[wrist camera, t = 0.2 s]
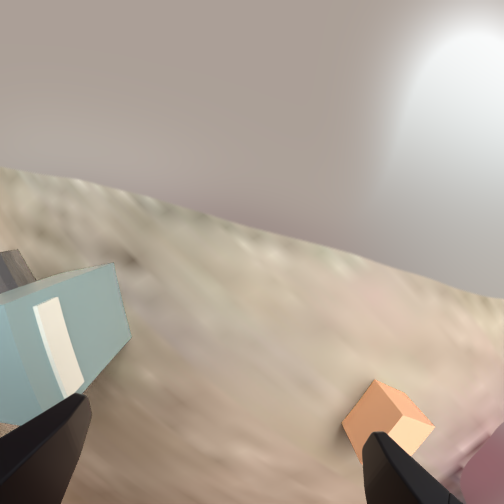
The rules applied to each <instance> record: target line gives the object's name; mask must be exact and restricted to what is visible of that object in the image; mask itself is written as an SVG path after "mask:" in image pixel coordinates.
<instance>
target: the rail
mask: <svg viewBox="0 0 504 504" xmlns="http://www.w3.org/2000/svg"><path fill="white" fill-rule="evenodd" d="M33 282H36V280H35V278H34V276H33V275H32V273H31V271H30V270H29V268H28V266H27V264H26V263H25V261H24V259H23V257H22V256H21V254H20V252H19V250H18V249H17V250H11V251H5V252H0V294H1V293H4V292H6V291H9V290H12V289H15V288H18V287H21V286H24V285H27V284H30V283H33Z"/></svg>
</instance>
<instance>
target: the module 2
mask: <svg viewBox="0 0 504 504" xmlns="http://www.w3.org/2000/svg"><path fill="white" fill-rule="evenodd" d="M342 425H343V427H344V429H345V431H346V434H347V436H348V438H349V440H350V442H351V444H352V446H353V448H354V450H355V452H356V454H357V457H358V459H359V461H360V463H361V464H362V465H363V461H362V448H363V445H364V444H365V442H366V441H367V439H368V437H369V436H370V434H371V433H372V432H375V431H384V432H385V433H387V434H388V435H389V436H390V437H391V438H392V439H393V440H394V441H395V442H396V443H397V444H398V445H399V446H400V447H401V448H402V449H404V450H405V451H406V452H407V453H408V454H409V455H410V456H411V455H412V454H413V453H414V452H415V451H416V450H417V448H418V447H419V446H420V445H421V444H422V443H423V441H424V440H425V439H426V438H427V436H428V435H429V434H430V433H431V432H432V430H433V429H434V428H435V426H434V425H433V424H432V423H431V422H430V420H429V419H428V418H427V417H426V416H425V415H424V414H423V413H422V412H421V410H420V409H419V408H418V407H417V406H416V405H415V404H414V403H413V402H412V400H411V399H410V398H409V397H408V396H407V395H406V394H405V393H403V392H401V391H399V390H397V389H394V388H392V387H390V386H388V385H386V384H383V383H381V382H379V381H377V380H375V379H374V381H373V382H372V384H371V385H370V386H369V388H368V389H367V391H366V392H365V393H364V395H363V396H362V397H361V399H360V400H359V401H358V403H357V404H356V405H355V406H354V408H353V409H352V410H351V412H350V413H349V414H348V415H347V417H346V418H345V419H344V420H343V422H342Z"/></svg>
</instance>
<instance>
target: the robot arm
mask: <svg viewBox="0 0 504 504" xmlns="http://www.w3.org/2000/svg"><path fill="white" fill-rule="evenodd" d="M91 417H92V412H91V408H90V404H89V400H88V397H87V396H86V395H83V394H80V393H73V394H72V395H70V396H69V397H67V398H65V399H64V400H62V401H60V402H59V403H57V404H56V405H54V406H52V407H51V408H49V409H47V410H46V411H44V412H42V413H41V414H39V415H38V416H36V417H34V418H33V419H31V420H29V421H28V422H26V423H24V424H23V425H21V426H19V427H18V428H16V429H14V430H13V431H11V432H9V433H8V434H6V435H4V436H3V437H1V438H0V504H61V502H62V499H63V496H64V494H65V491H66V489H67V487H68V484H69V482H70V479H71V477H72V474H73V472H74V470H75V467H76V465H77V462H78V460H79V457H80V455H81V451H82V448H83V444H84V441H85V438H86V434H87V431H88V428H89V424H90V421H91ZM362 461H363V474H364V488H365V495H366V500H367V504H463V503H462V502H461V501H460V500H458V499H457V498H456V497H455V496H454V495H453V494H452V493H449V491H448V490H447V489H446V488H445V487H444V486H443V485H441V484H440V483H439V482H438V481H437V480H436V479H435V478H434V477H433V476H432V475H430V474H429V473H428V472H427V471H426V470H425V469H424V468H423V467H422V466H421V465H420V464H419V463H417V462H416V461H415V460H414V459H413V458H412V457H411V456H410V455H409V454H408V453H407V452H406V451H405V450H404V449H402V448H401V447H400V446H399V445H398V444H397V443H396V442H395V441H394V440H393V439H392V438H391V437H390V436H389V435H388V434H387V433H385V432H384V431H375V432H372V433H371V434H370V436H369V437H368V439H367V441H366V442H365V444H364V445H363V448H362Z"/></svg>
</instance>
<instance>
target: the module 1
mask: <svg viewBox="0 0 504 504" xmlns="http://www.w3.org/2000/svg"><path fill="white" fill-rule="evenodd" d="M131 337H132V336H131V332H130V329H129V325H128V321H127V318H126V314H125V310H124V306H123V302H122V298H121V293H120V289H119V285H118V280H117V276H116V271H115V267H114V263H109V264H104V265H99V266H93V267H88V268H83V269H78V270H73V271H68V272H63V273H60V274H56V275H53V276H50V277H47V278H44V279H41V280H38V281H36V282H33V283H30V284H27V285H24V286H21V287H18V288H15V289H12V290H9V291H6V292H4V293H1V294H0V422H2V423H7V424H13V425H20V426H21V425H23V424H24V423H26V422H28V421H29V420H31V419H33V418H34V417H36V416H38V415H39V414H41V413H42V412H44V411H46V410H47V409H49V408H51V407H52V406H54V405H56V404H57V403H59V402H60V401H62V400H64V399H65V398H67V397H69V396H70V395H72V394H73V393H80V394H82V393H83V392H84V391H85V389H86V388H87V387H88V386H89V385H90V384H91V383H92V381H93V380H94V379H95V378H96V377H97V376H98V375H99V373H100V372H101V371H102V370H103V369H104V368H105V367H106V366H107V364H108V363H109V362H110V361H111V360H112V359H113V358H114V356H115V355H116V354H117V353H118V352H119V351H120V350H121V349H122V348H123V346H124V345H125V344H126V343H127V342H128V341H129V340H130V339H131Z"/></svg>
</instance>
